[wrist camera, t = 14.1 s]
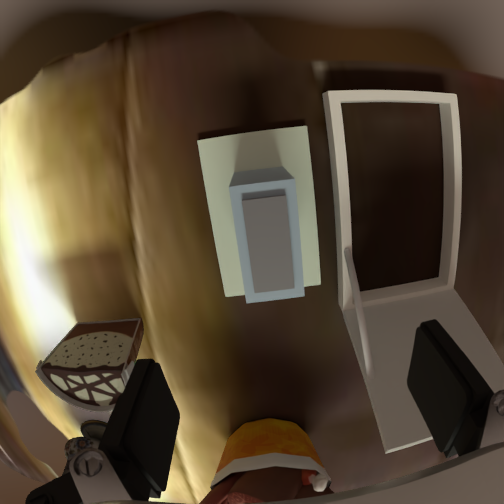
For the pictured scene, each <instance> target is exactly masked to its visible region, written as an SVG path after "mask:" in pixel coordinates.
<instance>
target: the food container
mask: <svg viewBox="0 0 504 504" xmlns="http://www.w3.org/2000/svg"><path fill="white" fill-rule="evenodd" d="M143 331H144V328H143V322H142V318H134V319H122V320H109V321H95V322H80V323H77V324H76V325H75V326H74V327H73V328H72V329H71V330H70V331H69V332H68V334H67V335H66V336H65V337H64V338H63V339H62V340H61V342H60V343H59V344H58V345H57V346H56V347H55V348H54V350H53V351H52V352H51V353H50V354H49V355H48V357H47V358H46V359H45V360H44V361H43V362H42V361H41V360H40V361H39V363H38V365H37V367H36V368H37V370H36V371H35V372H36V374H37V375H38V377H39V378H40V379H41V381H42V382H43V383H44V384H45V385H46V386H47V387H48V388H49V389H50V390H51V391H52V392H53V393H54V394H55V395H57V396H58V397H59V398H61V399H62V400H64V401H66V402H67V403H69V404H71V405H73V406H75V407H78V408H81V409H83V410H87V411H92V412H108V411H111V410H113V409H114V406H115V404H116V402H117V399H118V397H119V396H120V395H121V394H122V393H123V391H124V389H125V386H126V384H127V381H128V379H129V377H130V374H131V372H132V370H133V367H134V365H135V362H136V358H137V355H138V351H139V348H140V344H141V341H142V337H143Z"/></svg>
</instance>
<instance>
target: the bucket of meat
mask: <svg viewBox="0 0 504 504" xmlns="http://www.w3.org/2000/svg"><path fill="white" fill-rule="evenodd" d="M330 484H331V479H330V477H329V475H328V474H327V473H326V471H325V469H324V467H323V465H322V463H321V461H320V459H319V457H318V455H317V453H316V451H315V449H314V446H313V444H312V442H311V440H310V438H309V436H308V434H306V433H305V432H304V431H303V430H302V429H301V428H300V427H299V426H298V425H297V424H296V423H293V422H291V421H286V420H281V419H275V418H265V419H260V420H255V421H250V422H246V423H245V424H243V425H242V426H241V427H240V428H239V429H237V430H236V431H235V432H234V433H233V434H232V435H231V436H230V437H229V438H228V440H227V443H226V446H225V449H224V452H223V454H222V457H221V460H220V463H219V466H218V469H217V471H216V474H215V477H214V479H213V481H212V483H211V487H210V488H211V491H210V492H209V493H208V494H207V496H206V497H205V498H204V499H203V500H202V501H201V502H200V503H199V504H246V503H263V502H275V501H285V500H294V499H302V498H309V497H316V496H322V495H328V494H333V493H334V492H333V491H332V490H331V489H330V488H329V486H330Z"/></svg>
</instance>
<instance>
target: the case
mask: <svg viewBox="0 0 504 504" xmlns="http://www.w3.org/2000/svg"><path fill="white" fill-rule="evenodd" d="M322 95H323V103H324V110H325V118H326V126H327V134H328V143H329V152H330V162H331V173H332V184H333V197H334V210H335V226H336V244H337V268H338V303H339V306H340V308H341V310H342V312H343V317H344V320H345V323H346V326H347V329H348V332H349V335H350V338H351V341H352V344H353V347H354V350H355V353H356V356H357V359H358V362H359V365H360V368H361V371H362V374H363V378H364V381H365V384H366V387H367V391H368V394H369V397H370V400H371V404H372V407H373V410H374V414H375V417H376V421H377V424H378V428H379V431H380V435H381V439H382V442H383V446H384V449H385V453H390V452H393V451H397V450H400V449H403V448H407V447H410V446H413V445H416V444H419V443H422V442H425V441H428V440H431V439H433V437H432V435H431V433H430V431H429V429H428V427H427V425H426V423H425V421H424V419H423V417H422V415H421V413H420V411H419V409H418V407H417V405H416V403H415V401H414V399H413V397H412V395H411V393H410V391H409V389H408V386H407V376H408V372H409V367H410V362H411V357H412V351H413V345H414V340H415V333H416V329H417V327H420V324H421V323H422V322H425V321H429V320H433V319H436V320H437V321H438V322H439V323H440V324H441V325H442V327H443V328H444V329H445V330H446V331H447V333H448V334H449V335H450V336H451V337H452V339H453V340H454V341H455V342H456V344H457V345H458V346H459V347H460V349H461V350H462V351H463V352H464V353H465V355H466V356H467V357H468V358H469V360H470V361H471V362H472V364H473V365H474V366H475V368H476V369H477V370H478V372H479V373H480V374H481V375H482V377H483V378H484V380H485V381H486V382H487V384H488V385H489V386H490V388H491V389H492V390H493V392H494V393H496V392H498V391H499V390H504V365H503V364H502V362H501V360H500V358H499V357H498V355H497V353H496V352H495V350H494V348H493V347H492V345H491V344H490V342H489V340H488V339H487V337H486V336H485V334H484V332H483V331H482V329H481V328H480V326H479V325H478V323H477V322H476V320H475V319H474V317H473V316H472V314H471V313H470V311H469V310H468V308H467V307H466V305H465V304H464V302H463V301H462V300H461V298H460V297H459V295H458V294H457V292H456V291H455V290H454V289H453V288H454V281H455V274H456V266H457V257H458V247H459V235H460V220H461V195H462V162H461V138H460V123H459V112H458V102H457V94H450V93H438V92H424V91H403V90H340V91H327V92H325V93H323V94H322ZM351 102H415V103H436V104H439V107H440V117H441V128H442V143H443V167H444V208H443V232H442V247H441V259H440V269H439V277H437V278H432V279H427V280H422V281H417V282H412V283H406V284H401V285H396V286H390V287H384V288H379V289H373V290H367V291H361V292H360V290H359V285H358V281H357V276H356V271H355V267H354V263H353V258H352V235H351V213H350V196H349V181H348V169H347V157H346V147H345V137H344V128H343V119H342V111H341V104H340V103H351Z"/></svg>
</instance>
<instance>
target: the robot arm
mask: <svg viewBox="0 0 504 504" xmlns="http://www.w3.org/2000/svg"><path fill="white" fill-rule="evenodd" d="M407 386H408V389H409V391H410V393H411V395H412V397H413V399H414V401H415V403H416V405H417V407H418V409H419V411H420V413H421V415H422V417H423V419H424V421H425V423H426V425H427V427H428V429H429V431H430V433H431V435H432V437H433V439H434V441H435V443H436V446H437V448H438V450H439V451H440V452H444V454H445V456H446V458H448V457H451V456H453V455H455V454H458V455H459V457H457V458H455V459H452V460H450V461H447V462H444V463H442V464H439V465H436V466H433V467H430V468H427V469H425V470H422V471H419V472H416V473H413V474H410V475H406V476H403V477H400V478H396V479H393V480H389V481H386V482H382V483H378V484H374V485H370V486H366V487H362V488H358V489H353V490H348V491H344V492H339V493H333V494H328V495H322V496H316V497H309V498H302V499H294V500H285V501H275V502H263V503H246V504H504V390H499V391H498V392H496V393H494V392H493V390H492V389H491V388H490V386H489V385H488V384H487V382H486V381H485V380H484V378H483V377H482V375H481V374H480V373H479V372H478V370H477V369H476V368H475V366H474V365H473V364H472V362H471V361H470V360H469V358H468V357H467V356H466V355H465V353H464V352H463V351H462V350H461V349H460V347H459V346H458V345H457V344H456V342H455V341H454V340H453V339H452V337H451V336H450V335H449V334H448V333H447V331H446V330H445V329H444V328H443V327H442V325H441V324H440V323H439V322H438V321H437V320H436V319H433V320H429V321H425V322H422V323H421V324H420V327H417V329H416V333H415V340H414V345H413V351H412V357H411V362H410V367H409V372H408V376H407ZM179 420H180V413H179V410H178V407H177V405H176V403H175V401H174V398H173V396H172V394H171V391H170V389H169V386H168V384H167V381H166V379H165V377H164V374H163V372H162V369H161V366H160V364H159V363H155V361H154V360H153V359H138V360H137V361H136V363H135V365H134V367H133V370H132V372H131V374H130V377H129V379H128V381H127V384H126V386H125V389H124V391H123V393H122V394H121V395H120V396H119V397H118V399H117V402H116V404H115V406H114V409H113V411H112V414H111V416H110V419H109V421H108V424H107V426H106V429H105V431H104V434H103V436H102V439H101V441H100V444H99V447H98V449H97V448H85V449H82V450H80V451H79V452H77V453H76V454H75V455H74V456H73V457H72V459H71V461H70V466H69V468H70V472H68V473H66V474H64V475H62V476H61V477H59V478H57V479H55V480H53V481H51V482H49V483H47V484H45V485H43V486H41V487H38V488H36V489H35V490H33V491H31V492H30V494H29V495H28V496H27V499H26V504H184V503H165V502H151V501H148V500H149V497H151V498H160V496H161V491H165V490H166V486H167V481H168V476H169V471H170V465H171V460H172V455H173V450H174V445H175V440H176V435H177V430H178V425H179Z"/></svg>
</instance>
